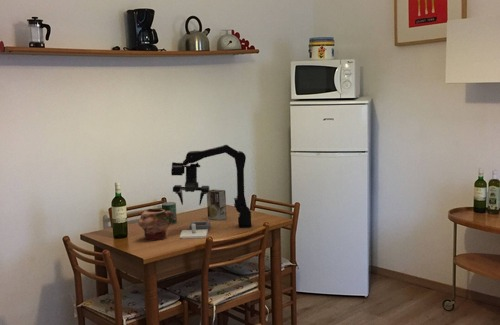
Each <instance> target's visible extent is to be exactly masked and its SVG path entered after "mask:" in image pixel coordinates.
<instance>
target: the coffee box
mask: <svg viewBox="0 0 500 325" xmlns="http://www.w3.org/2000/svg"><path fill="white" fill-rule="evenodd" d="M226 196H227V195H226V190H225V189H213V188H212V189H209V192H208V193H206V204H207V205H206V206H207V219H208V220H217V221H222V220H225V219H227V202H226V201H227V200H226Z"/></svg>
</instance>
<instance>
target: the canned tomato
mask: <svg viewBox="0 0 500 325" xmlns="http://www.w3.org/2000/svg"><path fill="white" fill-rule="evenodd" d="M161 209H162V210H165V211H166V212H167V211H170V212H172V213H173V215H174V219H173V221H172V223H171V224H170V225H175V223H176V224H177V223H178V220H177V218H178V217H177V203H176V202H174V201H173V202H172V201H167V202H163V203H161ZM168 219H169V222H170V221H171V216H170V215H168Z"/></svg>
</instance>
